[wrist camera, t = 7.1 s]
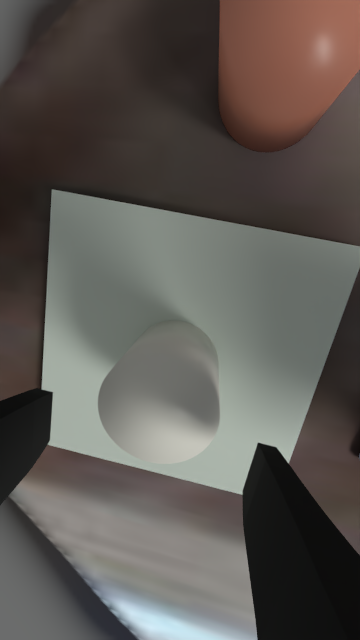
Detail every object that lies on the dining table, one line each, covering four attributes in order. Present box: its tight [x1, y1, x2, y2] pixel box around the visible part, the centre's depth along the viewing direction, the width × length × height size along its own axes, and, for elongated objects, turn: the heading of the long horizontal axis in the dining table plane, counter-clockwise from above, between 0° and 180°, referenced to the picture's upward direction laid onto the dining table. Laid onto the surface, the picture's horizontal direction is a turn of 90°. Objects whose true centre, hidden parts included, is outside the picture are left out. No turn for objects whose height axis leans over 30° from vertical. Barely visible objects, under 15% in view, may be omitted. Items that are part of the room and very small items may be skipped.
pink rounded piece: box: [218, 0, 360, 152], centre depth 10 cm, size 5×5×5 cm
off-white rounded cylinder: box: [98, 320, 220, 464], centre depth 13 cm, size 5×5×5 cm
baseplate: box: [42, 189, 360, 495], centre depth 16 cm, size 16×16×1 cm
